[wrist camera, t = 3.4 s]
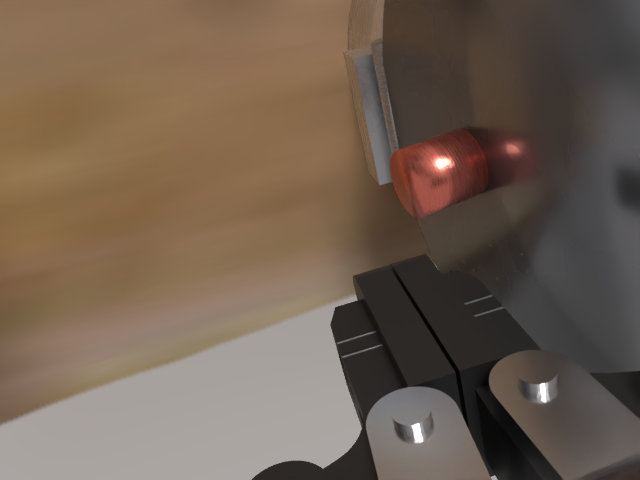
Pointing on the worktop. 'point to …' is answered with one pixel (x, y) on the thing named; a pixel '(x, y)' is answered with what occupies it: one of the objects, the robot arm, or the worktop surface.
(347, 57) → the cooker pot
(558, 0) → the lid
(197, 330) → the worktop surface
